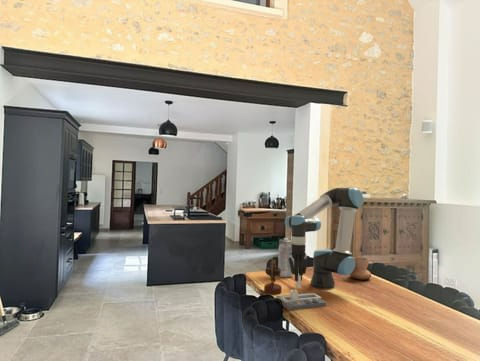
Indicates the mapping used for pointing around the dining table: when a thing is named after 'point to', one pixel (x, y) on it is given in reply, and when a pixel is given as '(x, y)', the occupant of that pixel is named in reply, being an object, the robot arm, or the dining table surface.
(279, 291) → the brown rounded tall piece
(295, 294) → the fader
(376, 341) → the dining table surface
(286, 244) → the grey canister
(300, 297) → the console
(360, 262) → the ceramic jug
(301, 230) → the robot arm
